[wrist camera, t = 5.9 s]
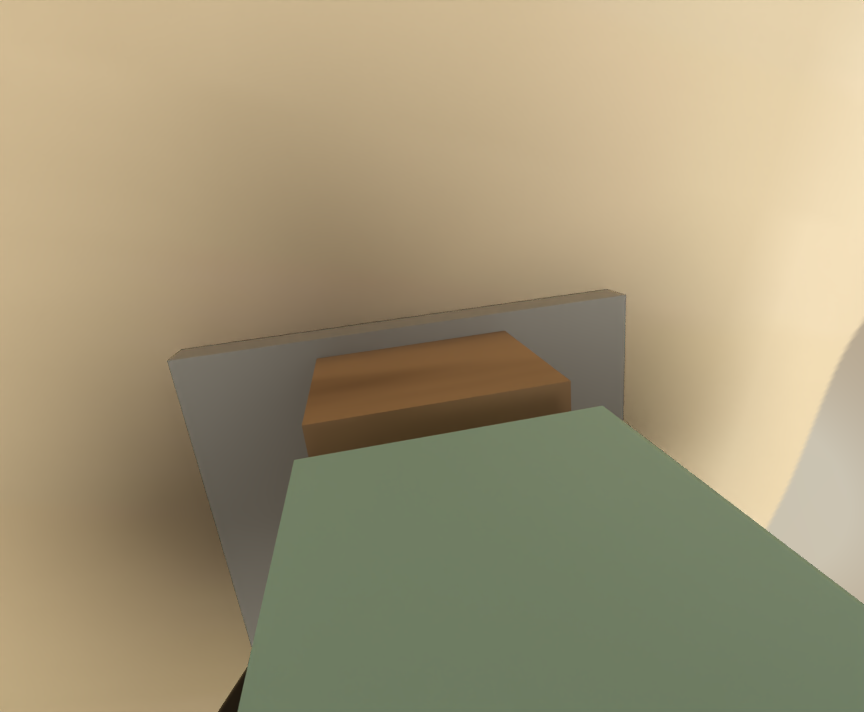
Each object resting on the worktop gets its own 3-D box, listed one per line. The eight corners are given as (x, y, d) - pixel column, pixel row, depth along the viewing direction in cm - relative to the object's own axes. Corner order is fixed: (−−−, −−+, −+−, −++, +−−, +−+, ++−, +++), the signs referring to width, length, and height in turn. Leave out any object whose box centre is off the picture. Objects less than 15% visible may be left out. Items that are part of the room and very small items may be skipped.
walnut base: (514, 489, 14) (573, 590, 10) (348, 522, 14) (347, 642, 10) (504, 330, 13) (570, 380, 9) (316, 358, 12) (302, 425, 8)
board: (603, 685, 19) (616, 710, 18) (298, 763, 17) (294, 794, 16) (607, 289, 14) (625, 294, 13) (180, 349, 12) (167, 360, 11)
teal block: (601, 636, 9) (861, 1075, 5) (347, 698, 9) (344, 1282, 4) (602, 405, 8) (998, 705, 3) (293, 459, 7) (185, 945, 2)
